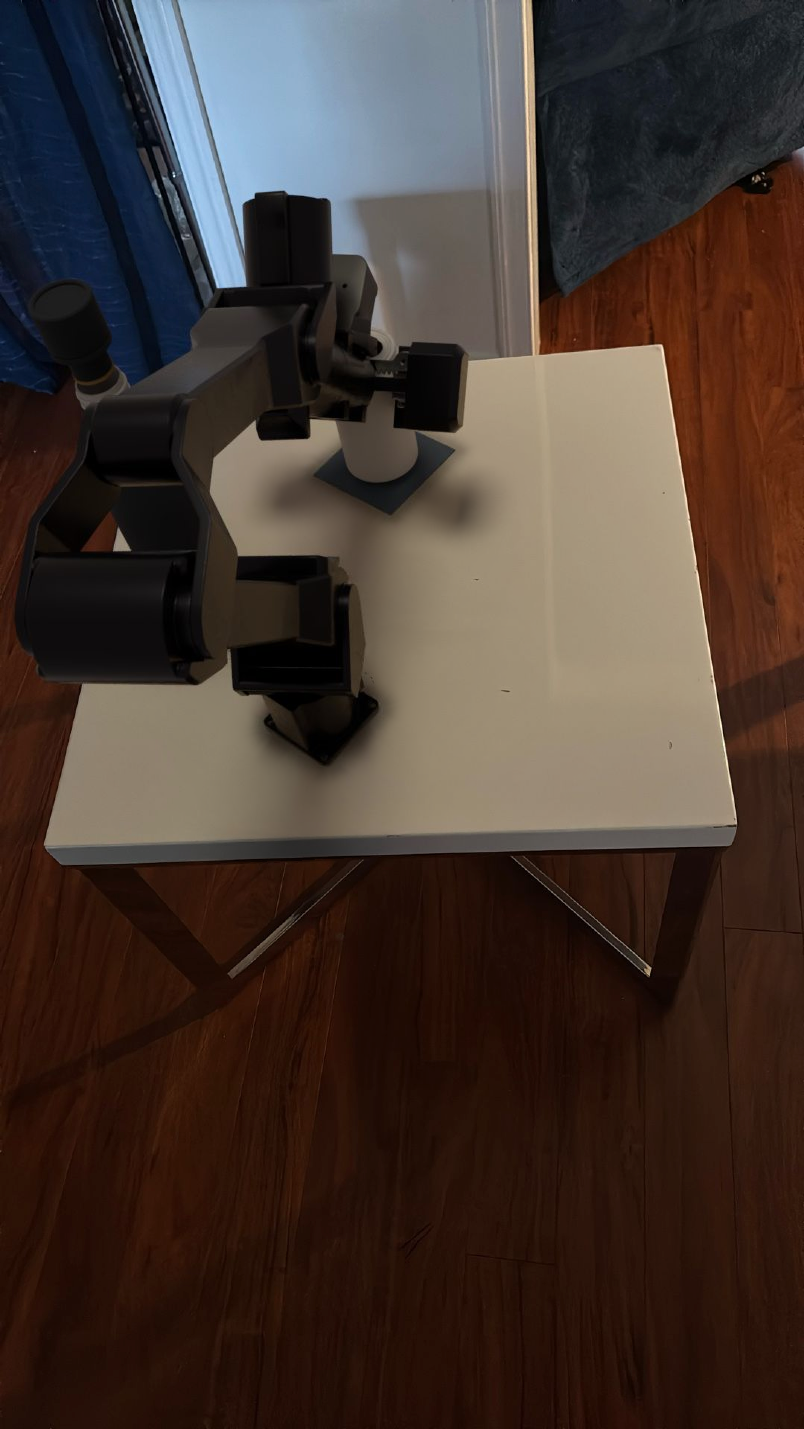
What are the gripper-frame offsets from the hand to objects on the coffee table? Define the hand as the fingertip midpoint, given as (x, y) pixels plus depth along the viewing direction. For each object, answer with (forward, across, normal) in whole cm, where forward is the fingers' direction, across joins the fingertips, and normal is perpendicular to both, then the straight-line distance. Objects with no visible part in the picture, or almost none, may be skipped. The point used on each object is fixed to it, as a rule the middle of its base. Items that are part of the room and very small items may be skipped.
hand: (375, 392), depth 86 cm
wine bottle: (-9, +10, +19) cm, 23 cm away
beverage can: (+4, 0, +6) cm, 7 cm away
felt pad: (+4, 0, +6) cm, 7 cm away
